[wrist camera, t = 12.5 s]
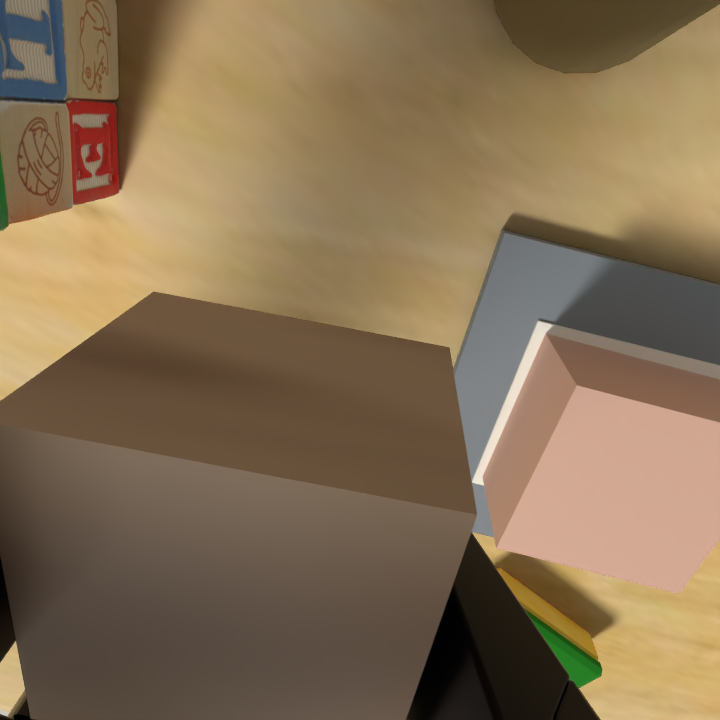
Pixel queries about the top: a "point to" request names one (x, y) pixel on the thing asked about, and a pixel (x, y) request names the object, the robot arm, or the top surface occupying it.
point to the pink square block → (609, 466)
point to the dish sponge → (559, 634)
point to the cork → (593, 29)
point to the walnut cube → (231, 518)
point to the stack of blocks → (57, 105)
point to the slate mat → (570, 329)
